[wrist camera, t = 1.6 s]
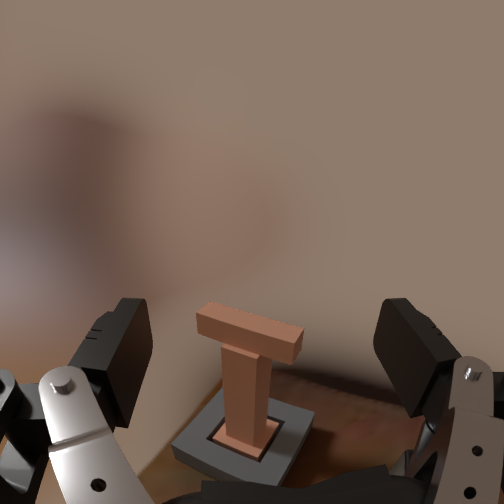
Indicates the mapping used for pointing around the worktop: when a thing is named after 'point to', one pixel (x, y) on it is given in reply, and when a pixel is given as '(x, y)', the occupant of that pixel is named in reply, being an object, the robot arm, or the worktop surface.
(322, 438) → the worktop surface
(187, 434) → the socket block
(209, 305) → the t key
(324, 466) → the worktop surface
